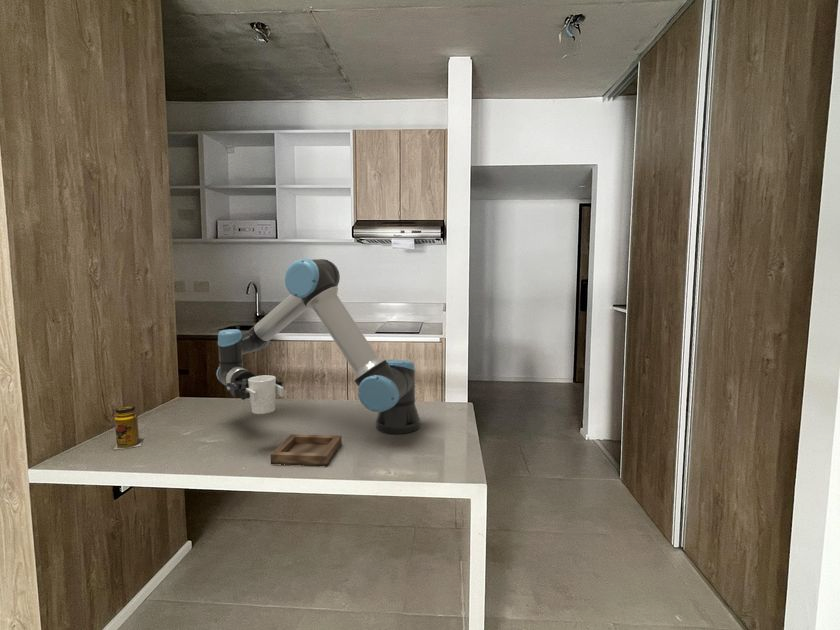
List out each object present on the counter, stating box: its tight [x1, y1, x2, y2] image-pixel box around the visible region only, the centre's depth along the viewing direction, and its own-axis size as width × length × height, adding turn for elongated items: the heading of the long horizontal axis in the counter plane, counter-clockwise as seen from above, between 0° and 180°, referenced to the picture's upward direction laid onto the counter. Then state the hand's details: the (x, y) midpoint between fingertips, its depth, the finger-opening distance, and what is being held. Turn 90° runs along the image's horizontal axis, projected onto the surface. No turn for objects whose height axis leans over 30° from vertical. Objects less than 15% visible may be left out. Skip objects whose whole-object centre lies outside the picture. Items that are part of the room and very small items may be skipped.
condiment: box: [113, 405, 145, 450], centre depth 153 cm, size 7×8×12 cm
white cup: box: [248, 374, 277, 415], centre depth 147 cm, size 8×8×10 cm
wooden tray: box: [269, 433, 343, 468], centre depth 143 cm, size 16×16×3 cm
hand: (269, 394), depth 143 cm, fingers closed on white cup, 7 cm apart
